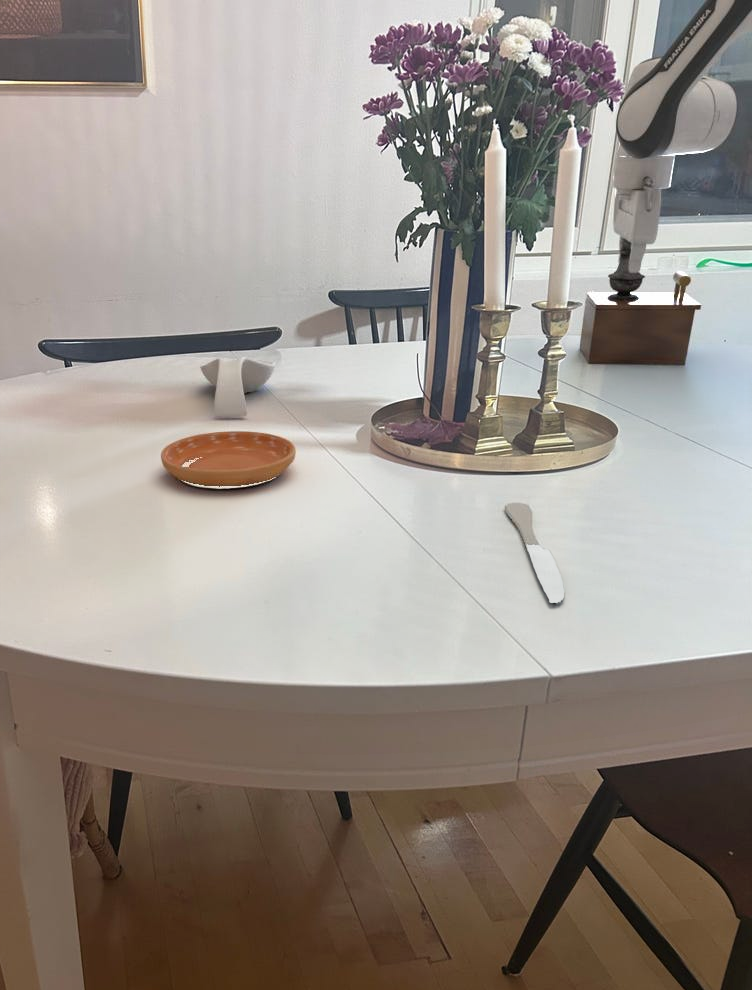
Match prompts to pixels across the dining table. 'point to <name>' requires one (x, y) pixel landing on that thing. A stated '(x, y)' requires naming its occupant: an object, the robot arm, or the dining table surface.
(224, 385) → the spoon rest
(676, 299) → the lid
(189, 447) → the saucer
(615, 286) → the salt shaker
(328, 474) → the dining table surface
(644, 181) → the robot arm
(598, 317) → the chest
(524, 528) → the utensil handle
